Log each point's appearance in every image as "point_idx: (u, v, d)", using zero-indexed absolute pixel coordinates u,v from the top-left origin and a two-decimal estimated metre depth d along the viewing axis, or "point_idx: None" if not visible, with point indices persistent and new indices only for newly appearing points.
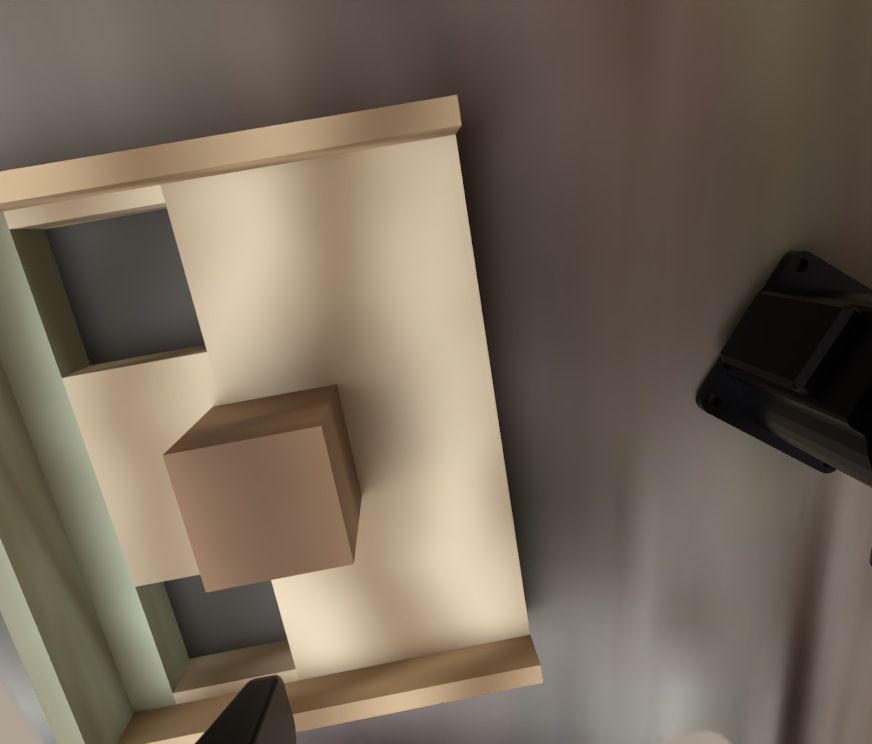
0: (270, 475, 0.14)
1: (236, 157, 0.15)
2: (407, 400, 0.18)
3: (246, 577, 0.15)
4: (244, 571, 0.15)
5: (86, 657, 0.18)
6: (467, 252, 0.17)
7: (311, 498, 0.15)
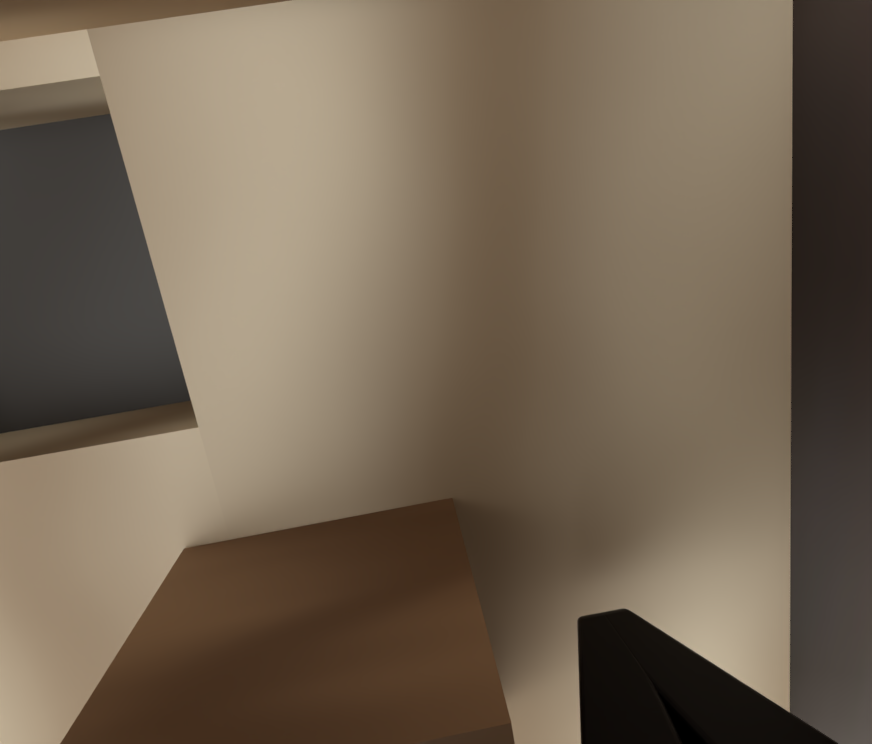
0: None
1: None
2: (617, 524, 0.09)
3: None
4: None
5: None
6: (781, 212, 0.08)
7: None
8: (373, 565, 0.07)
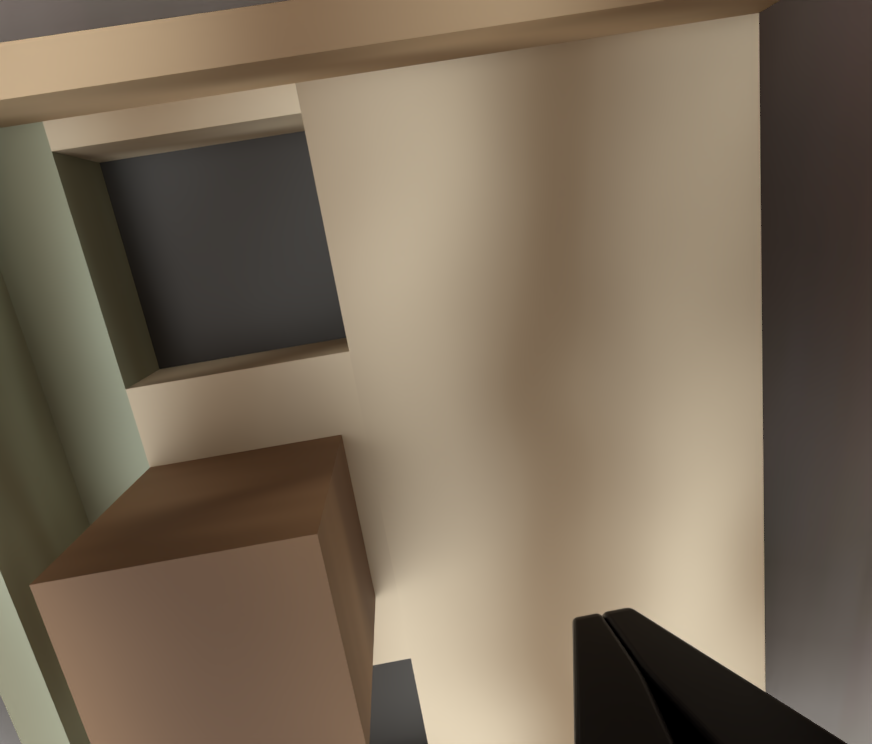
0: (226, 617, 0.08)
1: (447, 22, 0.09)
2: (637, 427, 0.12)
3: None
4: None
5: None
6: (753, 203, 0.11)
7: (298, 653, 0.08)
8: (272, 471, 0.10)
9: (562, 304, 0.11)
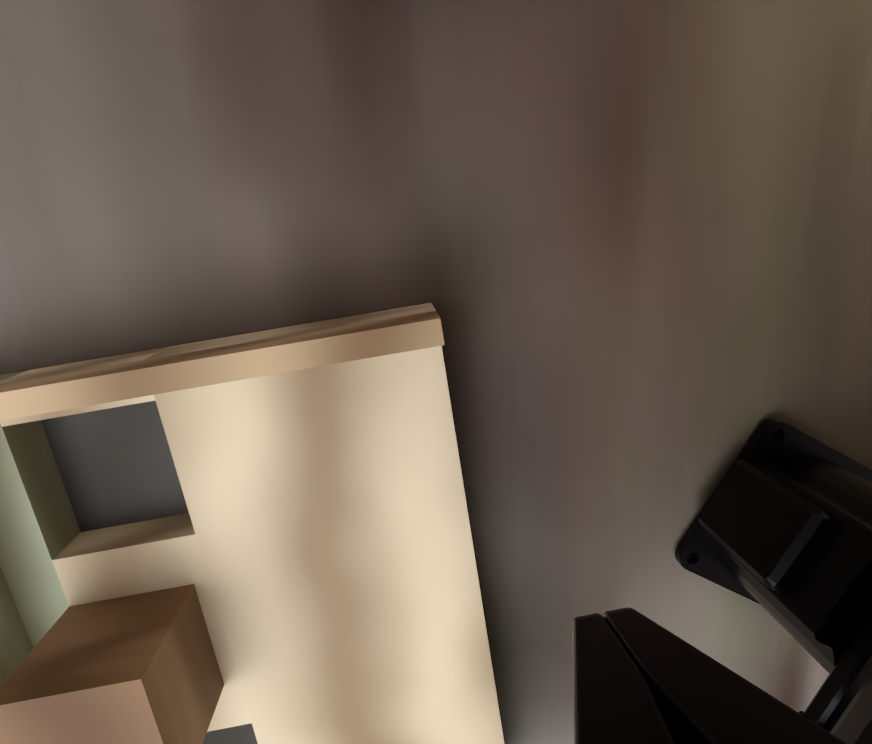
0: (92, 723, 0.15)
1: (224, 377, 0.15)
2: (391, 575, 0.19)
3: None
4: None
5: None
6: (451, 441, 0.18)
7: (135, 742, 0.15)
8: (139, 619, 0.17)
9: (332, 503, 0.18)
